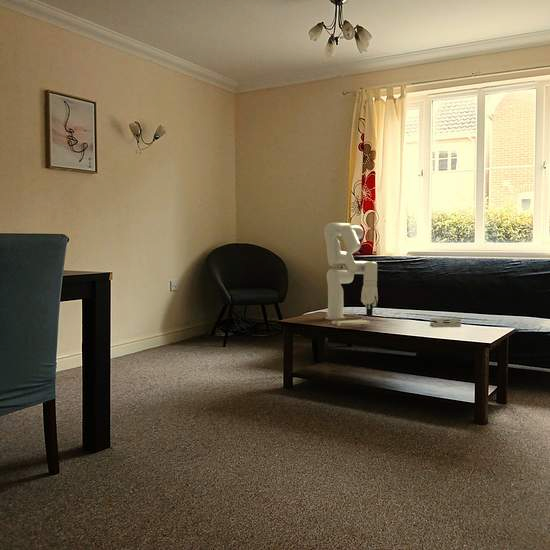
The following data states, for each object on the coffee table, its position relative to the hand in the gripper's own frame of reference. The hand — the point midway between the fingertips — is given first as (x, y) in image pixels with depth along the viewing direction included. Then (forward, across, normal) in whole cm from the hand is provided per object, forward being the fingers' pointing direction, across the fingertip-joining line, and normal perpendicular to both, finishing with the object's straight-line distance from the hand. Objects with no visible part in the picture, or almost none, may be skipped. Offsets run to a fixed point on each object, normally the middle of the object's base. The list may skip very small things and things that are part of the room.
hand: (369, 315), depth 319 cm
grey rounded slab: (+3, +23, +38) cm, 44 cm away
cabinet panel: (+6, -10, -5) cm, 13 cm away
